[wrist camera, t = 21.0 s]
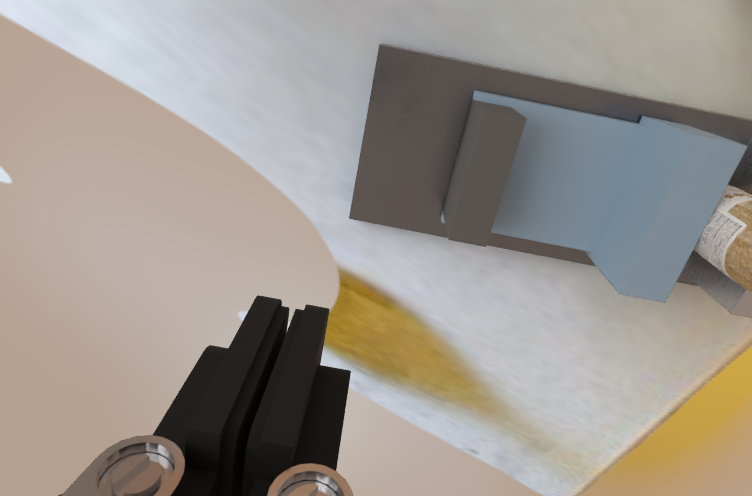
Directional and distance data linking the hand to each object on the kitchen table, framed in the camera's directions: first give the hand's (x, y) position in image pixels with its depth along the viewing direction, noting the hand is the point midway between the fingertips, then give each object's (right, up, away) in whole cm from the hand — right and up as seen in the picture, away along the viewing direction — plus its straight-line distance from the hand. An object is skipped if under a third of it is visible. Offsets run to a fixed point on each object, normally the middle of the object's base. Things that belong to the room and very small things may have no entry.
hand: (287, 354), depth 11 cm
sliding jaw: (+14, +7, +22) cm, 27 cm away
